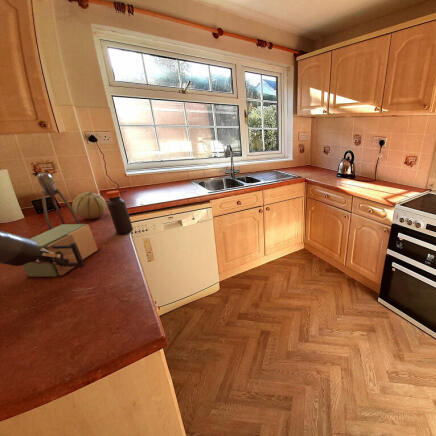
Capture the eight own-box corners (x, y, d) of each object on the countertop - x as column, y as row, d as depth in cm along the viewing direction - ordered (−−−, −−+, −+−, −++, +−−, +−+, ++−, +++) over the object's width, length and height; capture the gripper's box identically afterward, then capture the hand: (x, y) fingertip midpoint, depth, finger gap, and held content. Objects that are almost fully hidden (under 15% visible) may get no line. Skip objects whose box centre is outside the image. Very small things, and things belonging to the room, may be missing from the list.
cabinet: (28, 276, 85) (12, 246, 80) (72, 250, 101) (61, 224, 97) (58, 276, 84) (44, 245, 80) (98, 250, 101) (88, 224, 96)
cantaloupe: (84, 215, 141) (75, 190, 135) (113, 211, 145) (105, 187, 139) (72, 224, 128) (61, 197, 122) (104, 220, 132) (95, 194, 126)
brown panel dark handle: (59, 275, 84) (45, 245, 80) (81, 261, 92) (69, 233, 88) (83, 275, 84) (71, 245, 79) (103, 261, 92) (92, 233, 88)
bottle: (127, 228, 122) (115, 189, 114) (136, 229, 119) (124, 190, 112) (113, 233, 116) (100, 193, 109) (123, 235, 114) (109, 194, 106)
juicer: (84, 233, 117) (60, 171, 106) (53, 241, 109) (24, 176, 98) (81, 228, 123) (58, 169, 112) (51, 235, 116) (24, 173, 104)
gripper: (36, 234, 64) (89, 251, 80) (-12, 234, 64) (51, 251, 80) (24, 262, 61) (82, 274, 77) (-26, 262, 61) (41, 274, 77)
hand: (66, 262), depth 78 cm, fingers closed
